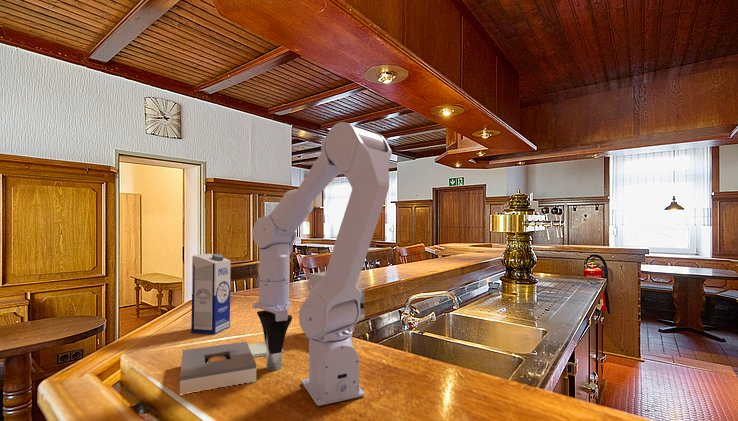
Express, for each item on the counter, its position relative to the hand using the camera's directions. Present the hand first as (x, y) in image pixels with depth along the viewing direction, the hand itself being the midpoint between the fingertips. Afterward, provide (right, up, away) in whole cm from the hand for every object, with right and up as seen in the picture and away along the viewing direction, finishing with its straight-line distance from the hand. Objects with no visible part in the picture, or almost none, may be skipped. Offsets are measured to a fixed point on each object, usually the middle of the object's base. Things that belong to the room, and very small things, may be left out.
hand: (273, 350), depth 71 cm
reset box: (-10, -3, -3) cm, 11 cm away
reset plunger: (-10, -2, -3) cm, 10 cm away
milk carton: (-23, -5, +25) cm, 35 cm away
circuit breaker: (+11, -4, +22) cm, 24 cm away
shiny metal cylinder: (0, -3, 0) cm, 3 cm away
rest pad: (-5, -4, +10) cm, 12 cm away
